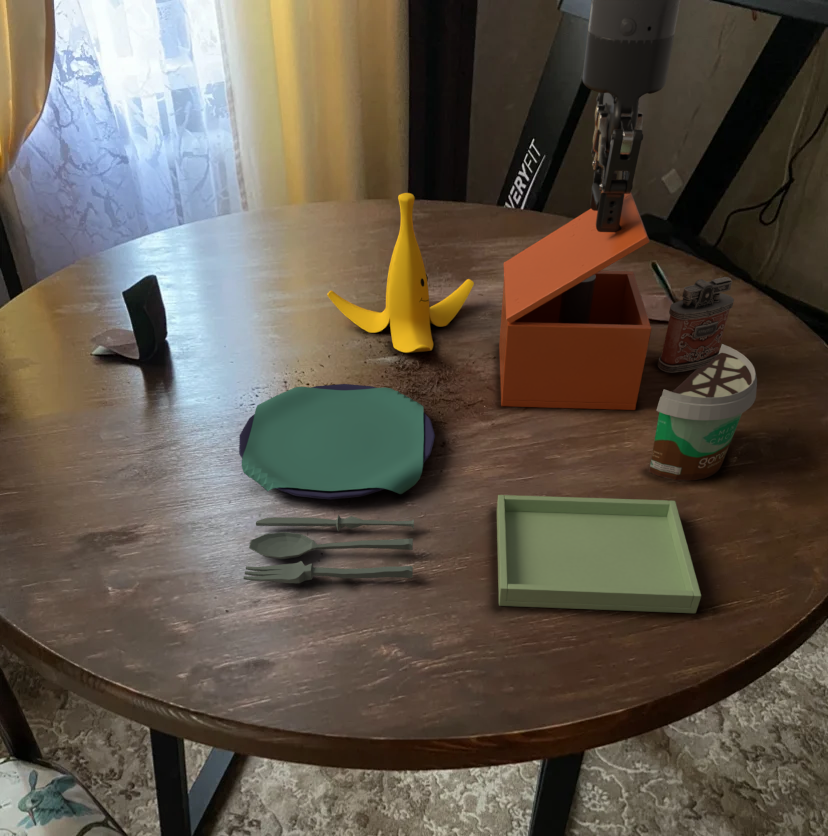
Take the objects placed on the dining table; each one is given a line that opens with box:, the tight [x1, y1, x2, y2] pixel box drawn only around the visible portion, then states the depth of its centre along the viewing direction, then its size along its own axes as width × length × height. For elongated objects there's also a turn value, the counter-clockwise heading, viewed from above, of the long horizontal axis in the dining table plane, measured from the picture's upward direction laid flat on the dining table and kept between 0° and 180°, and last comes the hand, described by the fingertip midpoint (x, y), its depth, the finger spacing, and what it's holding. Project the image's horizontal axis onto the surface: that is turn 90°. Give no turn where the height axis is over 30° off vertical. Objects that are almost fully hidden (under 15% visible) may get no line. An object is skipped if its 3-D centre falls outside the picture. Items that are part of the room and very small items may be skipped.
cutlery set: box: [238, 383, 436, 584], centre depth 82 cm, size 20×30×2 cm, turn 179°
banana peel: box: [326, 192, 475, 354], centre depth 101 cm, size 17×19×17 cm
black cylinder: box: [558, 274, 596, 324], centre depth 94 cm, size 3×3×11 cm
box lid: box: [503, 180, 650, 324], centre depth 86 cm, size 15×14×4 cm
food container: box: [648, 343, 758, 482], centre depth 81 cm, size 12×6×10 cm, turn 137°
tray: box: [496, 494, 702, 614], centre depth 73 cm, size 16×12×2 cm
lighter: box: [657, 276, 735, 374], centre depth 96 cm, size 8×3×10 cm, turn 114°
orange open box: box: [498, 270, 652, 411], centre depth 94 cm, size 15×14×10 cm
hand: (603, 219), depth 85 cm, fingers closed on box lid, 5 cm apart
